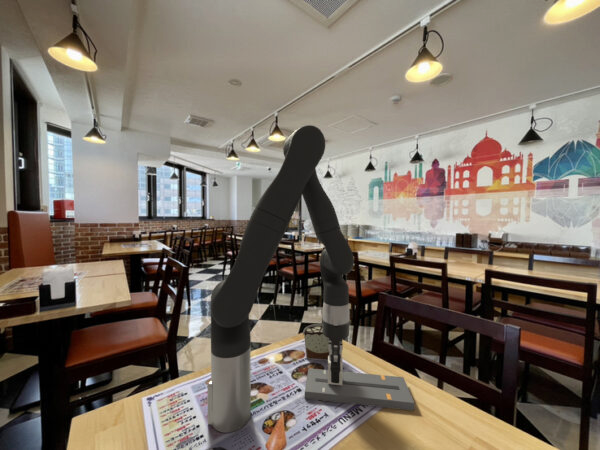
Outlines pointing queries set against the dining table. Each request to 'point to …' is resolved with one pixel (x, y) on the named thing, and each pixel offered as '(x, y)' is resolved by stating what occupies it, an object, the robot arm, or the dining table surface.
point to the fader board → (360, 389)
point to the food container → (316, 342)
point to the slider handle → (339, 373)
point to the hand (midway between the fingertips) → (335, 377)
